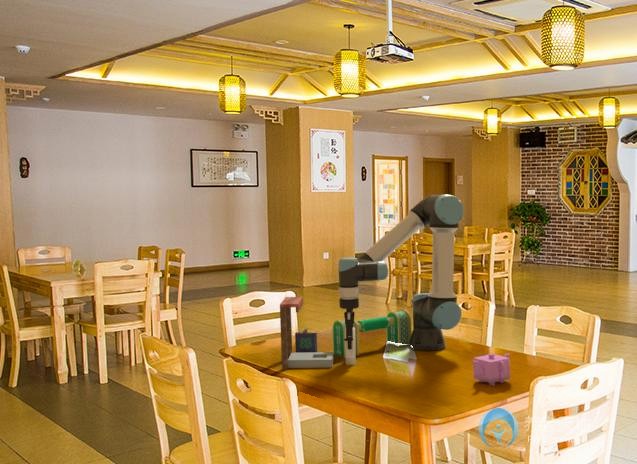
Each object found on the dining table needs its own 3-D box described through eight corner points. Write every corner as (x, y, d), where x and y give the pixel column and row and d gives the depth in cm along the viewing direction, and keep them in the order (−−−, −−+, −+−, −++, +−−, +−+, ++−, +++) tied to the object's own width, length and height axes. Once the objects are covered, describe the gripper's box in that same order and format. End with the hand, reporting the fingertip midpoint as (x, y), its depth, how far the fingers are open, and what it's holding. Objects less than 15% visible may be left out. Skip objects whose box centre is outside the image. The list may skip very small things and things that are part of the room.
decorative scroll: (345, 358, 273) (344, 321, 272) (333, 354, 280) (332, 318, 279) (411, 345, 292) (411, 310, 292) (399, 341, 299) (398, 308, 299)
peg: (356, 362, 265) (355, 327, 264) (355, 365, 261) (354, 329, 260) (345, 362, 265) (344, 327, 264) (345, 365, 261) (344, 329, 260)
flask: (317, 352, 283) (316, 327, 283) (317, 354, 280) (316, 328, 280) (295, 352, 284) (294, 327, 283) (295, 354, 281) (294, 329, 280)
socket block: (333, 359, 270) (333, 352, 270) (332, 367, 258) (331, 359, 258) (291, 360, 272) (291, 352, 271) (288, 367, 260) (287, 360, 260)
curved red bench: (304, 358, 274) (302, 296, 273) (300, 369, 256) (298, 304, 255) (287, 358, 275) (285, 296, 273) (282, 369, 257) (279, 304, 255)
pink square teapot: (494, 373, 244) (493, 346, 243) (523, 381, 233) (522, 353, 232) (457, 381, 234) (457, 354, 233) (486, 390, 223) (485, 361, 222)
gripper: (340, 293, 273) (342, 346, 274) (337, 302, 250) (339, 361, 251) (359, 293, 273) (360, 346, 274) (358, 302, 249) (359, 361, 251)
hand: (350, 353), depth 263 cm, fingers open, 11 cm apart
